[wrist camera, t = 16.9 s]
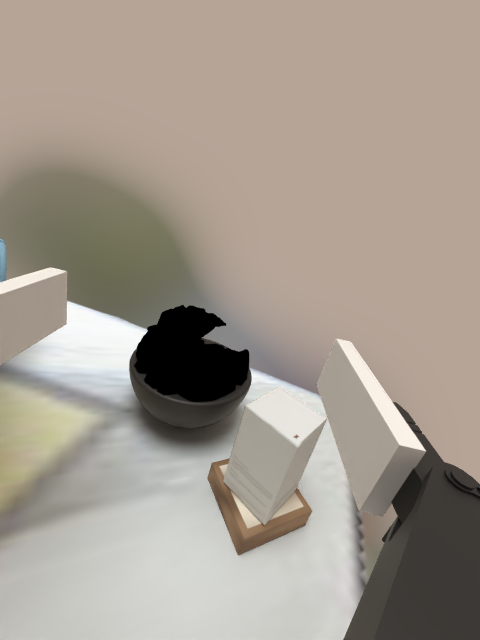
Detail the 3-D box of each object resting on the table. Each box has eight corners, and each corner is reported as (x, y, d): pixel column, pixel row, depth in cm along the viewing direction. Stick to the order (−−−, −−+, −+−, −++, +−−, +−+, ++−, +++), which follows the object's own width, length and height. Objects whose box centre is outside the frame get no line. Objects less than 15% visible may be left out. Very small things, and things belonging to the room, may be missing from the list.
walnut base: (207, 478, 40) (211, 462, 39) (265, 462, 45) (271, 447, 44) (238, 555, 32) (244, 538, 31) (304, 525, 37) (312, 510, 36)
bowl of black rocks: (201, 369, 64) (219, 291, 57) (260, 431, 51) (292, 340, 44) (108, 390, 51) (115, 292, 44) (153, 480, 38) (175, 361, 31)
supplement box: (296, 491, 38) (330, 418, 33) (263, 528, 33) (298, 448, 28) (255, 453, 42) (280, 384, 38) (220, 480, 37) (244, 403, 32)
